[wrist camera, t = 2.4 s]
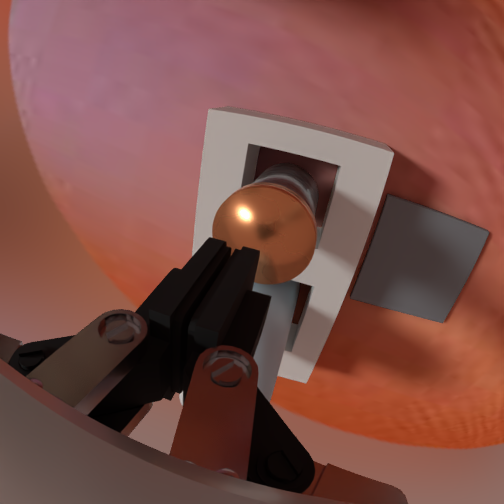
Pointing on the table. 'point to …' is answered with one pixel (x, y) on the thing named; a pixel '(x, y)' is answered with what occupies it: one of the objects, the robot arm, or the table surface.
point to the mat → (418, 260)
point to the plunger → (273, 221)
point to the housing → (328, 236)
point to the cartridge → (273, 332)
